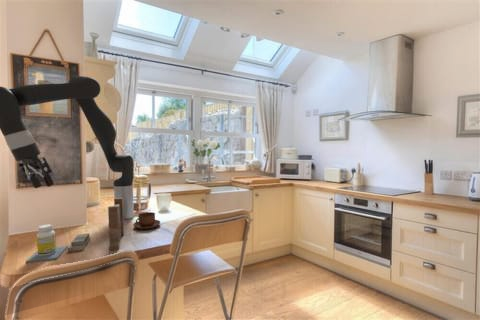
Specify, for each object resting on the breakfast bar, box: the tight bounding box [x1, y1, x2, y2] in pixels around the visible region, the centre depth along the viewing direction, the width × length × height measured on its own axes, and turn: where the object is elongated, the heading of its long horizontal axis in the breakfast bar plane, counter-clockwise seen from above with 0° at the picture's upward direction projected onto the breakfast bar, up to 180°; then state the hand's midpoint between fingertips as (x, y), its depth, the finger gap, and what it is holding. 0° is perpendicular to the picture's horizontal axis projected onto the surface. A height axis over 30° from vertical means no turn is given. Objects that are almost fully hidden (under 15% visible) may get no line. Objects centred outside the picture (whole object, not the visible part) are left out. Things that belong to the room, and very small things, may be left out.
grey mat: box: [25, 245, 68, 264], centre depth 97 cm, size 11×9×1 cm
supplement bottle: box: [36, 223, 57, 256], centre depth 96 cm, size 5×5×10 cm
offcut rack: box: [67, 197, 125, 253], centre depth 106 cm, size 17×17×16 cm
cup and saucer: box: [132, 211, 161, 230], centre depth 128 cm, size 12×12×6 cm
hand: (44, 186), depth 100 cm, fingers open, 8 cm apart
